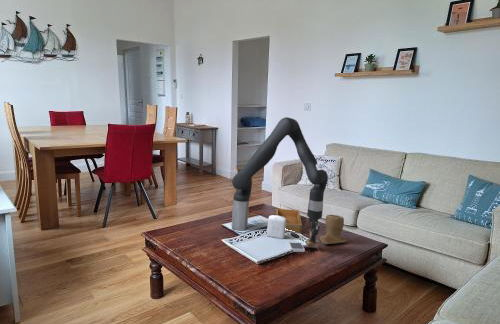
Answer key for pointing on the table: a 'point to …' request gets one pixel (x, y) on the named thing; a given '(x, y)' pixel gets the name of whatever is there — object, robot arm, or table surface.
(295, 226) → the tray
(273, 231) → the photo printer
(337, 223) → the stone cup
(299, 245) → the ink pad
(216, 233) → the table surface
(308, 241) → the hand stamp
